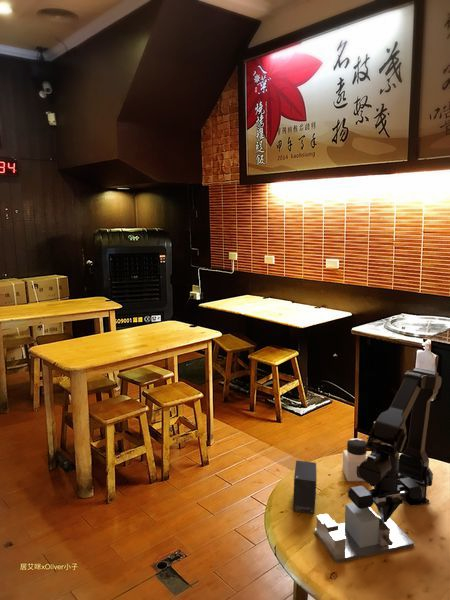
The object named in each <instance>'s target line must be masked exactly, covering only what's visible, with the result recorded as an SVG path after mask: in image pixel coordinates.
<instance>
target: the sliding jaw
mask: <svg viewBox="0 0 450 600" xmlns="http://www.w3.org/2000/svg"><path fill="white" fill-rule="evenodd" d="M369 509H370V510H371V511H372V512H373V513H374V514H375V515H376V516H377V517H378V518H379V515H377V513H376V512H375V511H374V509H372V508H371V507H369ZM378 544H379V545H380V547H381V546H386V545H389V546H392V545H393V542H392V541H391V539H390V528H389V527H388V526H387V525H386V524H385V523H384V522H383V521H382V520H381V519H380V518H379V535H378Z"/></svg>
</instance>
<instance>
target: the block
mask: <svg viewBox="0 0 450 600" xmlns="http://www.w3.org/2000/svg"><path fill="white" fill-rule="evenodd" d="M376 515H377V514H376ZM376 515H375V514H374V513H373V512H372V511H371V510H370V509H369V508H363V509H360V508H358V507H357V506H356V505H355V504H354V503H353V502H350V503H345V510H344V523H345V529H346V530H347V531H348V533H349V534H350V535H351V537H352V538H353V539H354V540H355V542H356V543H357V544H358V545H359V547H360V548H362V547H366V546H371V545H376V544H378V535H379V518H378V517H379V516H378V515H377V516H378V517H377V516H376Z"/></svg>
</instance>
